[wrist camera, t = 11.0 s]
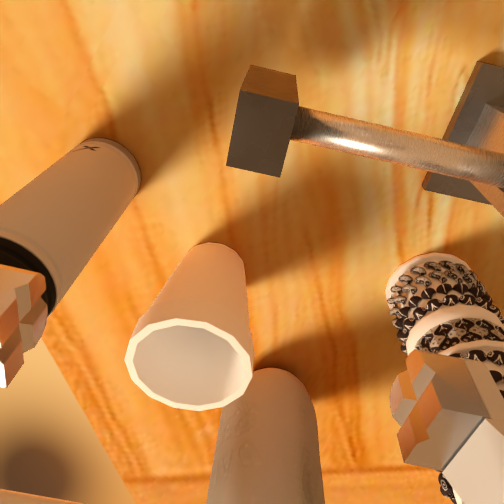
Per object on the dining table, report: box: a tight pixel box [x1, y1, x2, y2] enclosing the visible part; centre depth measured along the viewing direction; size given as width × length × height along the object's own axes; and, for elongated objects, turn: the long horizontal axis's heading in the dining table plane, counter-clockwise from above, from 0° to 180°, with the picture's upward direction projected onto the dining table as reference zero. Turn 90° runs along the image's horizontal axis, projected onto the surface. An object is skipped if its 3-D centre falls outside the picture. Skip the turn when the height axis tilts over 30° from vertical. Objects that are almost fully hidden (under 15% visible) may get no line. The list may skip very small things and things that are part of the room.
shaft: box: [226, 65, 504, 188], centre depth 26 cm, size 4×19×8 cm, turn 78°
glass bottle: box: [206, 368, 325, 504], centre depth 39 cm, size 10×10×28 cm
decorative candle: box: [385, 252, 504, 504], centre depth 32 cm, size 9×9×25 cm
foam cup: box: [124, 242, 254, 411], centre depth 37 cm, size 10×9×13 cm
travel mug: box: [0, 138, 141, 317], centre depth 30 cm, size 6×7×20 cm
